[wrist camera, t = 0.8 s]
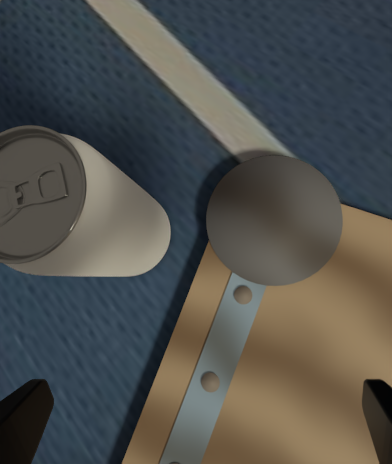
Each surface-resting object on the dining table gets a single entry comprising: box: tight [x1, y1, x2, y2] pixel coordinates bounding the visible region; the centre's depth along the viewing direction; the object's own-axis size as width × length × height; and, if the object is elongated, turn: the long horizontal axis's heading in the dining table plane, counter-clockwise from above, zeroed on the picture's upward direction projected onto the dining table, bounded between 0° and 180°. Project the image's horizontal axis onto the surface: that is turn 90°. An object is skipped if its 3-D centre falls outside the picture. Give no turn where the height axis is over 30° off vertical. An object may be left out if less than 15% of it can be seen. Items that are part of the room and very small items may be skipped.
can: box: [0, 125, 171, 276], centre depth 18 cm, size 6×6×12 cm
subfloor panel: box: [122, 155, 392, 464], centre depth 19 cm, size 26×21×1 cm
